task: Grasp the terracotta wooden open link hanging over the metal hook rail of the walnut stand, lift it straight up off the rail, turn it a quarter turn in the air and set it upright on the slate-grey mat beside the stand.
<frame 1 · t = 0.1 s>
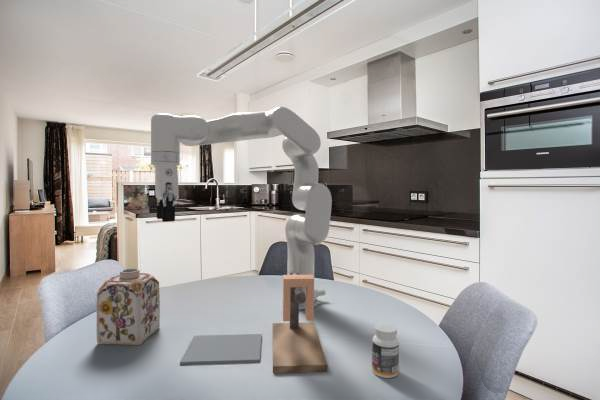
hand: (165, 219, 95), 31 cm above the table, tool pointing down, fingers open, 9 cm apart
pill bottle: (385, 373, 74), on the table
mat: (224, 349, 84), on the table
decorative jar: (129, 336, 91), on the table
stand: (296, 346, 85), on the table
link: (297, 317, 81), point 9 cm above the table, touching stand
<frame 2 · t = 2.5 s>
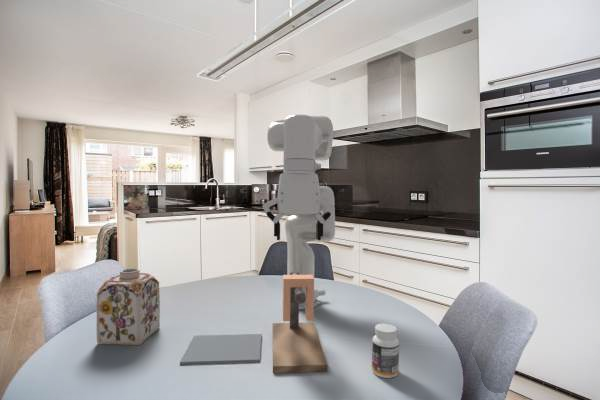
hand: (298, 239, 80), 28 cm above the table, tool pointing down, fingers open, 9 cm apart
nothing on the table moved.
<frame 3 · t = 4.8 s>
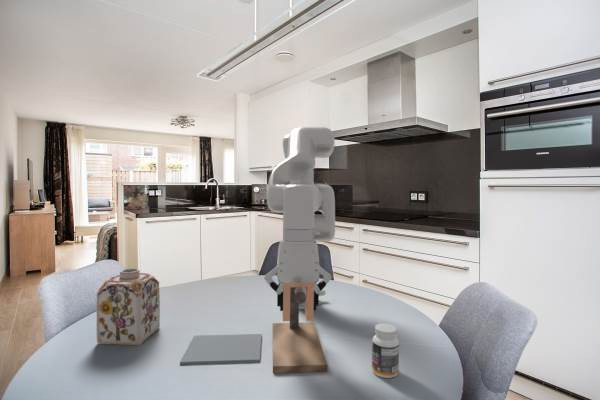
hand: (297, 308, 81), 11 cm above the table, tool pointing down, fingers closed on link, 7 cm apart
link: (297, 317, 81), point 9 cm above the table, touching gripper, stand
everything else where it was.
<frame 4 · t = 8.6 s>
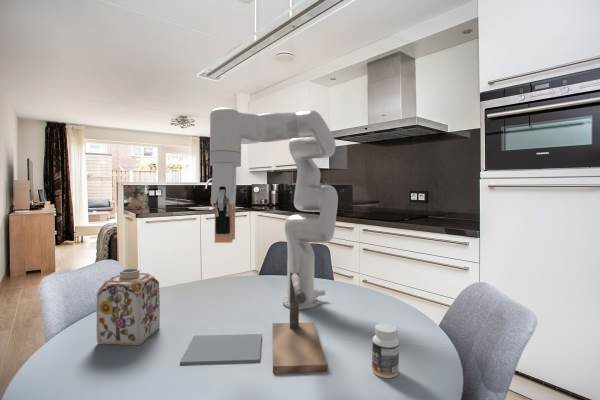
hand: (225, 231, 83), 30 cm above the table, tool pointing down, fingers closed on link, 7 cm apart
link: (225, 240, 83), point 27 cm above the table, touching gripper
everything else where it was.
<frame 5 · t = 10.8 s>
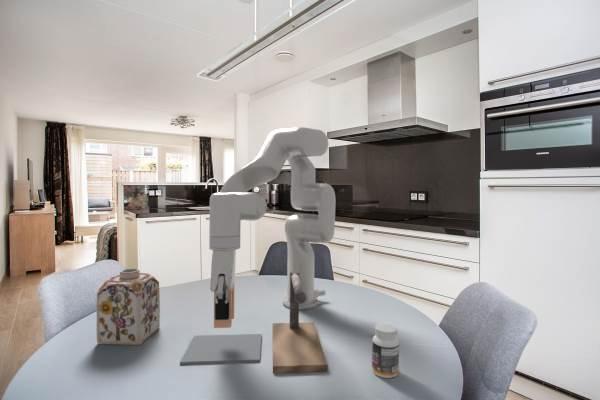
hand: (224, 312, 84), 9 cm above the table, tool pointing down, fingers closed on link, 7 cm apart
link: (224, 322, 84), point 7 cm above the table, touching gripper
everything else where it was.
when the fingers open (4 cm above the table, at t = 12.4 s): link stays where it is, resting on mat.
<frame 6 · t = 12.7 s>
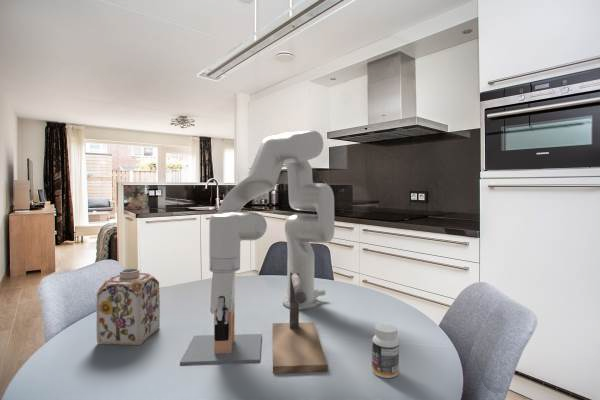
hand: (224, 331, 84), 4 cm above the table, tool pointing down, fingers open, 9 cm apart
link: (224, 346, 84), point 1 cm above the table, touching mat
everything else where it was.
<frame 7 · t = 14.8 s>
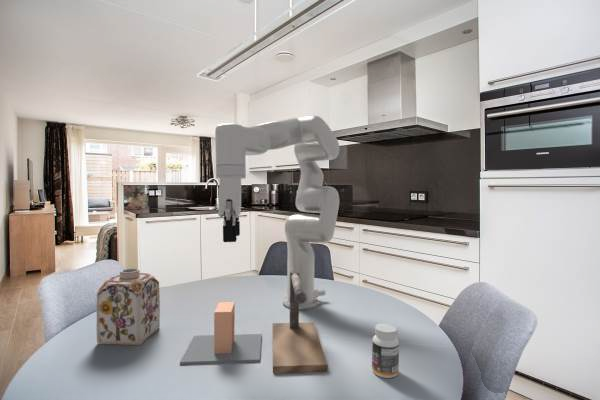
hand: (231, 238, 87), 27 cm above the table, tool pointing down, fingers open, 9 cm apart
nothing on the table moved.
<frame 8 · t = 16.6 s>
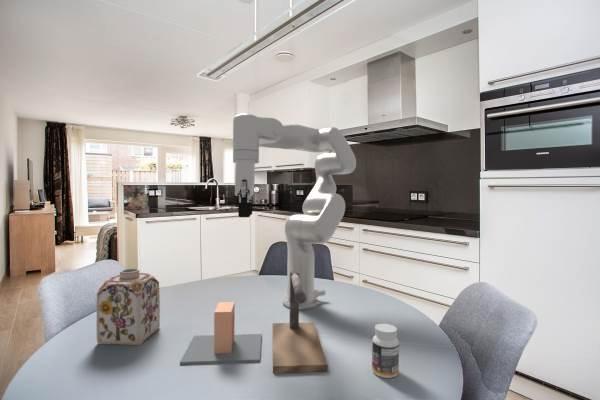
hand: (245, 215, 99), 32 cm above the table, tool pointing down, fingers open, 9 cm apart
nothing on the table moved.
at the end: link inside the target area on the mat (0.1 cm from its centre), point 0.6 cm above the mat's base; link tilted 0°; the gripper is holding nothing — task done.
